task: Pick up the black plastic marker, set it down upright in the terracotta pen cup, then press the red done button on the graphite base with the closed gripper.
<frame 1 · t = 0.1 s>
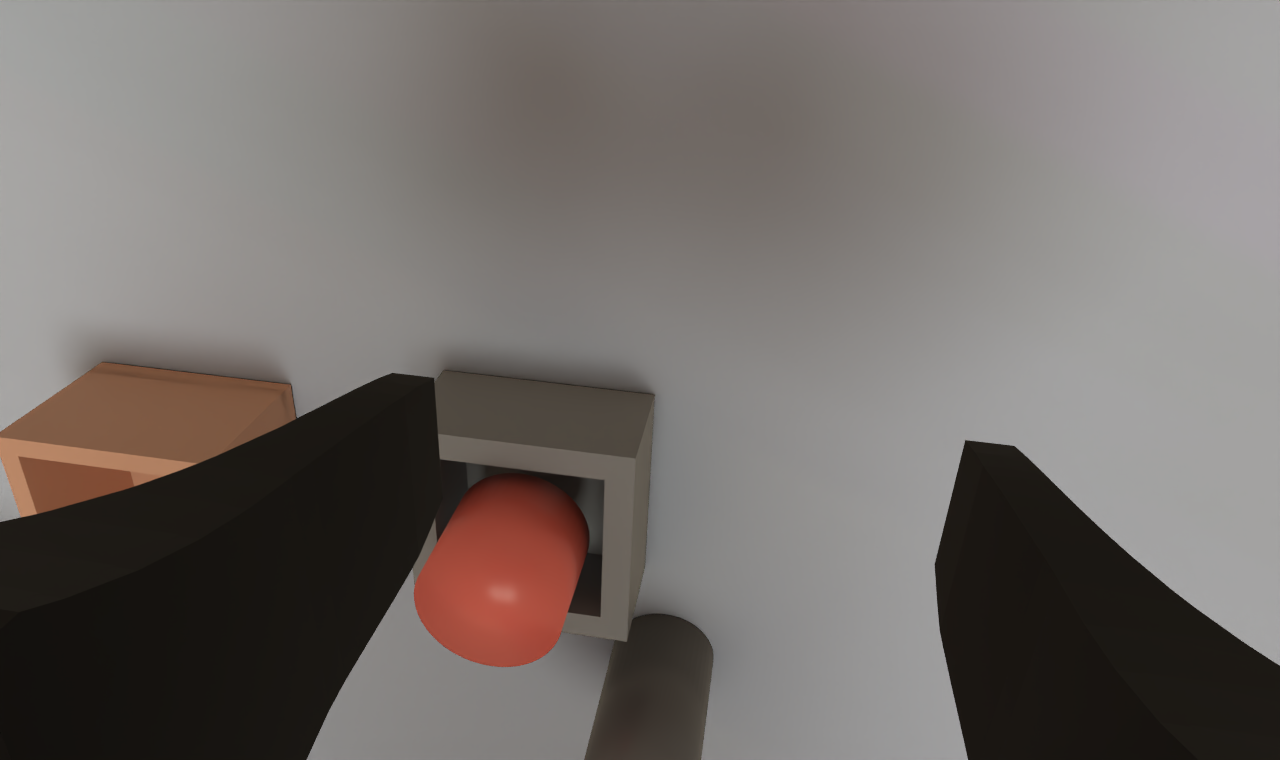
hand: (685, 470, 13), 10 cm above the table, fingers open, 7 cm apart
button base: (548, 472, 25), on the table
done button: (506, 567, 22), point 4 cm above the table, slide at 0.0 cm
pen cup: (213, 458, 27), on the table
marker: (663, 652, 28), on the table
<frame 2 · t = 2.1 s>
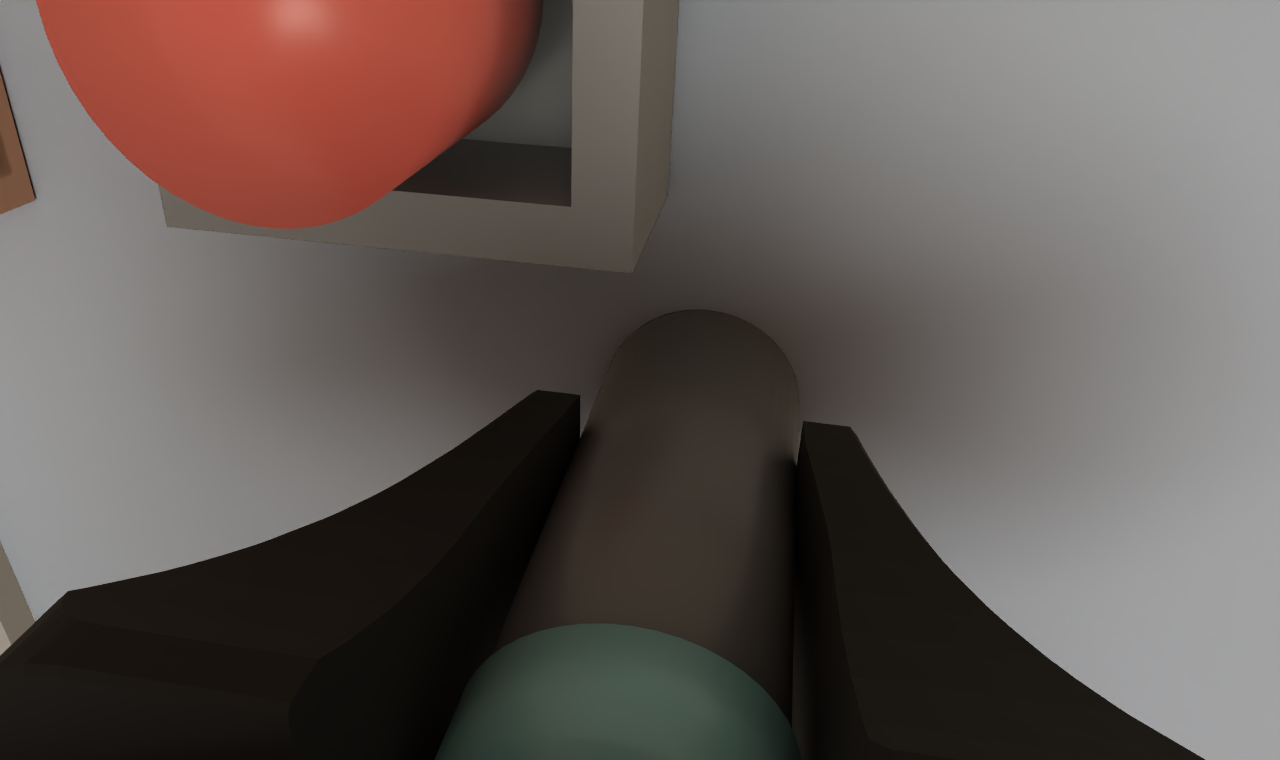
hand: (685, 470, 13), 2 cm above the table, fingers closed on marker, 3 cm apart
marker: (700, 398, 14), on the table, touching gripper
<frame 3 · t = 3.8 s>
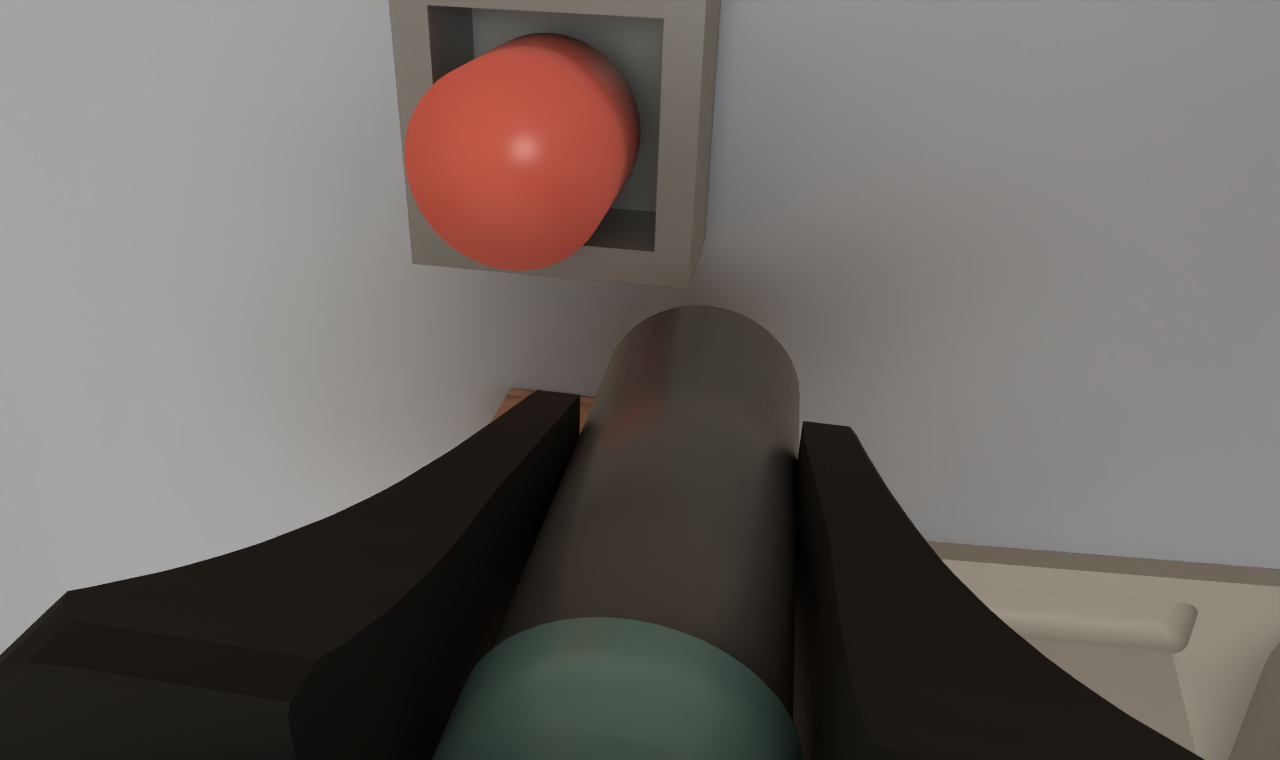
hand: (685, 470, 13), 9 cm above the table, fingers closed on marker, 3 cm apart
button base: (581, 100, 20), on the table
phone holder: (1071, 698, 25), on the table
done button: (530, 148, 16), point 4 cm above the table, slide at 0.0 cm
pen cup: (618, 494, 24), on the table
marker: (701, 395, 14), point 7 cm above the table, touching gripper
when the fingers open (5 cm above the table, at t = 5.3 s): marker drops 3 cm, resting on pen cup.
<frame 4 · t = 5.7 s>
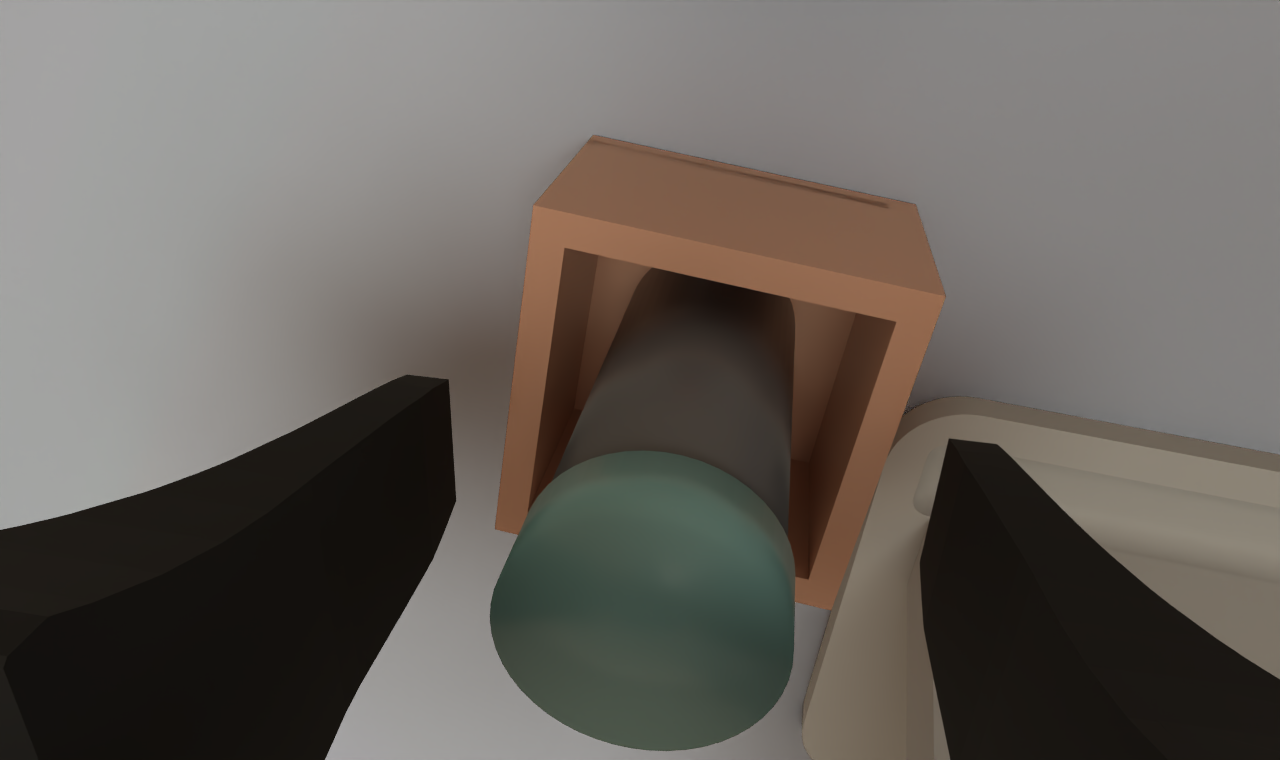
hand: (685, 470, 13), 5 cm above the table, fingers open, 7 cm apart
phone holder: (1254, 667, 19), on the table
pen cup: (718, 315, 17), on the table
marker: (710, 326, 17), point 1 cm above the table, touching pen cup
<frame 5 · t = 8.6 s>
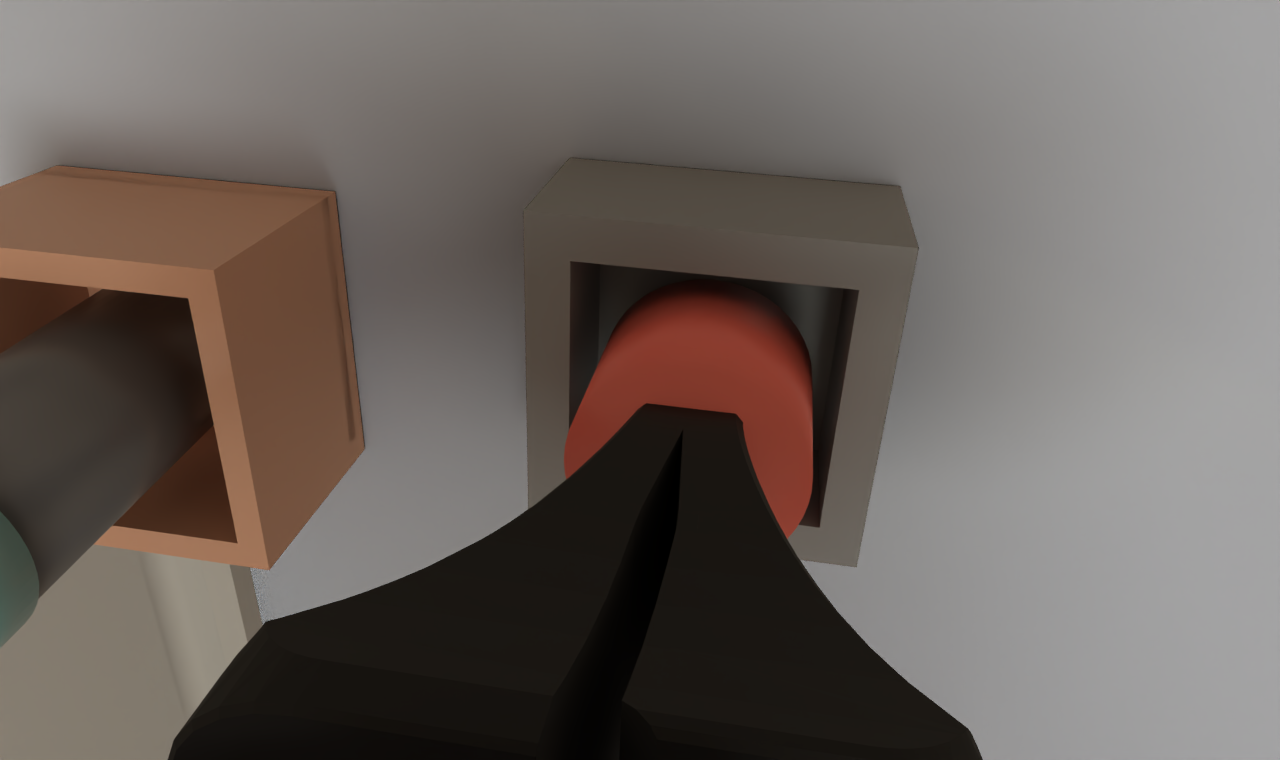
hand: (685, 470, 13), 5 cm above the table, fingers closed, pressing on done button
button base: (717, 322, 17), on the table
phone holder: (116, 699, 26), on the table
done button: (697, 421, 14), point 4 cm above the table, slide at 0.4 cm, touching gripper
pen cup: (218, 314, 19), on the table
marker: (201, 323, 18), point 1 cm above the table, touching pen cup
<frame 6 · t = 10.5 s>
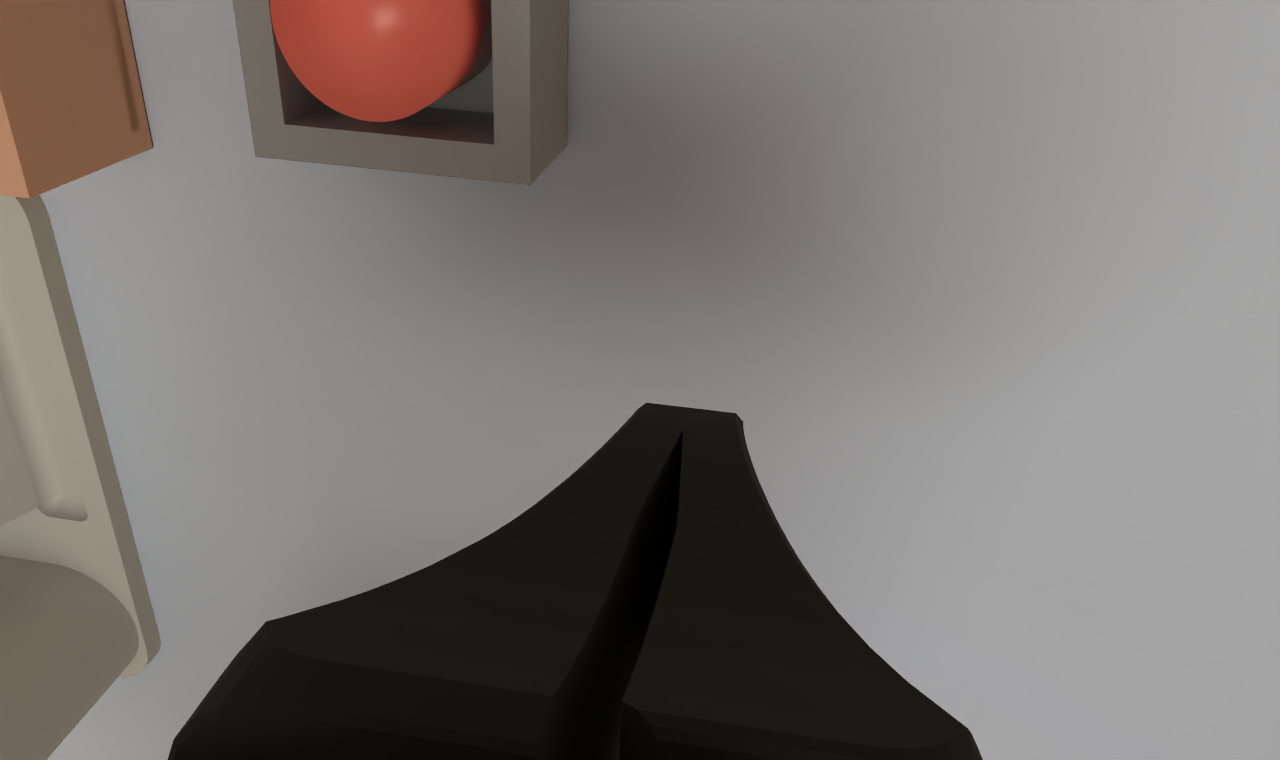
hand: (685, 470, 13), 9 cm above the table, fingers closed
done button: (395, 12, 17), point 2 cm above the table, slide at 1.8 cm
pen cup: (13, 12, 21), on the table
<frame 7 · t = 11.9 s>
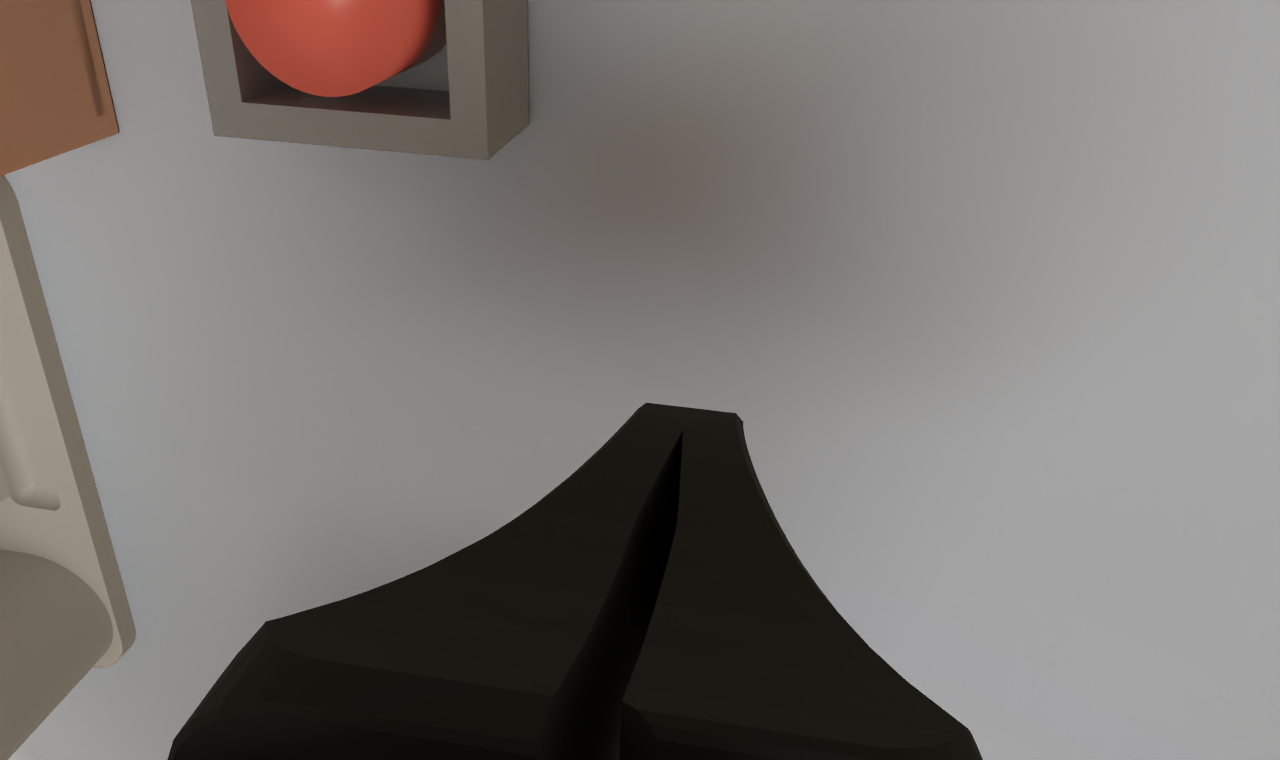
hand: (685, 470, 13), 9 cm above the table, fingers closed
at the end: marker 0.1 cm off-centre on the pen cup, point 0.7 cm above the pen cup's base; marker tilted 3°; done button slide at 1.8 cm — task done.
